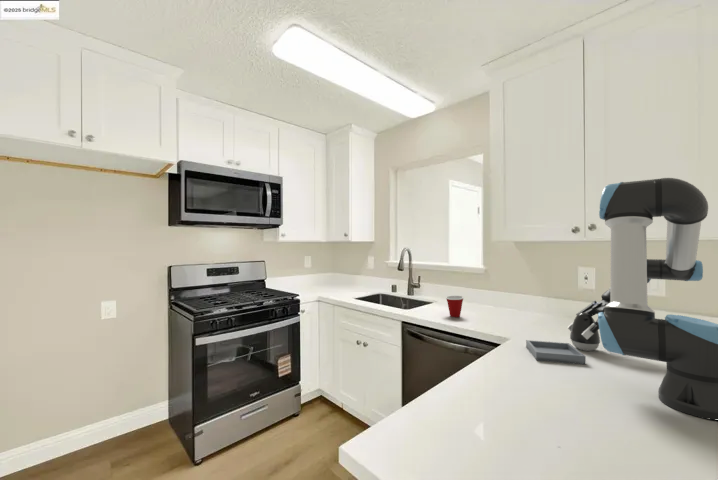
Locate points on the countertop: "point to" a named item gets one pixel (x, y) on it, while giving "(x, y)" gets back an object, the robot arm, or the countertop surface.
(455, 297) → the plastic cup
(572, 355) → the tray
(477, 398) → the countertop surface
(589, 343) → the black egg-shaped dome
